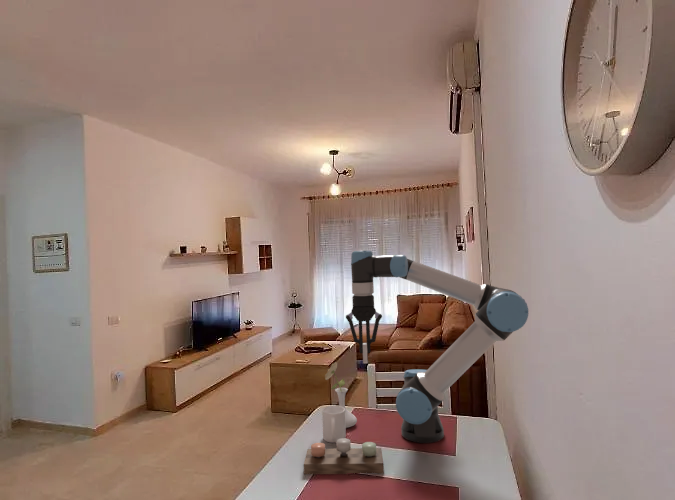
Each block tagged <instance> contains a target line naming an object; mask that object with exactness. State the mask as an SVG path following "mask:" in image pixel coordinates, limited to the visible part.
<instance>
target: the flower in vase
mask: <svg viewBox="0 0 675 500" xmlns="http://www.w3.org/2000/svg"><path fill="white" fill-rule="evenodd" d="M337 368H338V362H336V361H335V362H334V363H332V364H331V366H330V368H327V372H326V373H325V375H324V379H325V380H326V381H328V380H329V379H330V378H332V376H333V375H334V378H335V380H336V383H334V384H333V385H332V386H331V390H334V391H335V393H336V394H337V397H338V406H341V407H344V408H345V425H346V429H348V428H351V427H353V426H355V425H356V424H357V422H358V419H357V417H356V416H355V415H354V414H353V413H352V412H351V411H349V410H348V409H347V408H346V405H345V404H346V403H345V401H346V400H345V399H346V393H347V392H348V390H349V389H348V388H346V387H343V386H345V385H346V382H345V381H346V380H345V378H344V377H343V378H342V379H341V380H340V381H339V380H338V376H336V375H337V374H336V373H335V372H336V370H337Z"/></svg>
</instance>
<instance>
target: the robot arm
mask: <svg viewBox="0 0 675 500" xmlns="http://www.w3.org/2000/svg"><path fill="white" fill-rule="evenodd" d="M350 259H351V261H350V267H351V293H352V294H353V295H352V298H351V299H352V309H351V312H350V313H348V314H346V315H345V319H346V320H347V322H348V325H349V328H350V331H351V335H352V338H353V339H352V340H353V341H354V343H356V344H358V345H359V347H358V349H359V353H360V354H362V363H363V364H364V365H365V364H368V363H369V362H368V354H370V353H371V351H372V350H371V344H372V343H375V342H376V339H377V334H378V330H379V329H378V328H379V325H380V321H381V320H382V318H383V314H382V313H379V312H377V309H376V308H375V296H374V295H373V294H374V292H375V291H374V290H375V289H374V278H401V279H403V280H406V281H409V282H411V283H414V284H416V285H419V286H422V287H425V288H427V289H429V290H433V291H434V292H438V293H439V294H443V295H446V296H447V297H451V298H453V299H456V300H458V301H462V302H463V303H466V304H469V305H471V306H473V307H474V308H475V310H476V312H475V313H474V322H473V323H472V324H471V325H470V326H469V327H468V328H466V329H465V330H464V332H463V333H462V334H461V335H460V336H459V337H458V338H456V340H455V341H454V342H453V343H452V344H451V345H450V346H449V347H448V348H447V349H446V350H445V351H444V352H443V353H442V354H441V355H440V356H438V358H437V359H436V360H435V361H434V362H433V363H432V364H431V366H429V368H428V369H415V368H414V369H407V370H404V372H403V373H404V374H403V380H404V381H403V382H404V384H403V386H402V387H401V389H400V391H399V392H398V393H397V395H396V399H395V408H396V411H397V413H398V415H399V416H400V418H401V419H402V423H401V428H400V429H401V431H400V432H401V433H400V434H401V436H402V437H403V438H404V439H406V440H408V441H410V442H414V443H419V444H432V443H437V442H439V441H441V440H442V439H443V438H444V437H445V431H444V430H445V429H444V426H443V423H442V420H441V418H440V414H439V410H438V409H439V408H438V407H439V405H440V404H442V402H443V401H444V400H445V392H447V391H448V389H450V387H452V386H453V384H455V383H456V382H457V380H459V378H460V377H462V376H463V375H464V373H466V372H467V371H468V370H469V369H470V367H472V366H473V364H475V363H476V362H477V361H478V360H479V359H480V358H481V357H482V356H483V354H485V353H486V352H487V351H488V350H489V349H490V348H491V347H492V346H493V345H494V344H495V343H496V342H499V341H501V342H502V341H503V342H504V341H505V340H506V339H508V337H510V336H511V334H512V333H514V332H517V331H518V330H520V329H522V328H523V327H524V326H525V324H526V322H527V321H528V319H529V306H528V303H527V302H526V300H525V299H524V298H523V297H522V296H521V295H519V294H518V293H517V292H515V291H514V290H511V289H508V288H507V289H506V288H504V287H503V288H502V287H498V286H493V285H490V284H488V283H483V284H480V283H479V284H478V283H476V282H473V281H471V280H468V279H466V278H463V277H459V276H457V275H454V274H451V273H448V272H446V271H442V270H440V269H437V268H434V267H431V266H428V265H426V264H424V263H420V262H419V261H415V260H411V259H410V258H407V256H406V255H405V254H390V255H389V254H388V255H374V254H373V251H372V250H354V251H352V252H351V258H350ZM353 317H354V318H355V319H356V321H357V322H358V336H357V333H356V329H355V325H354V321H353V319H354V318H353ZM373 317H374V318H375V321H374V325H373V331H372V335H371V330H370V328H371V326H370V324H371V322H370V321H372V319H373ZM363 322H365V332H366V334H365V337H366V342H363V340H364V339H363V338H364V337H363Z"/></svg>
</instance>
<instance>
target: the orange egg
mask: <svg viewBox="0 0 675 500" xmlns="http://www.w3.org/2000/svg"><path fill="white" fill-rule="evenodd" d="M310 445H311V446H310V449H311V455H312V456H314V457H316V458H321V456H324V455H325V449H326V444H325V443H324V442H315V443H312V444H310Z"/></svg>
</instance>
